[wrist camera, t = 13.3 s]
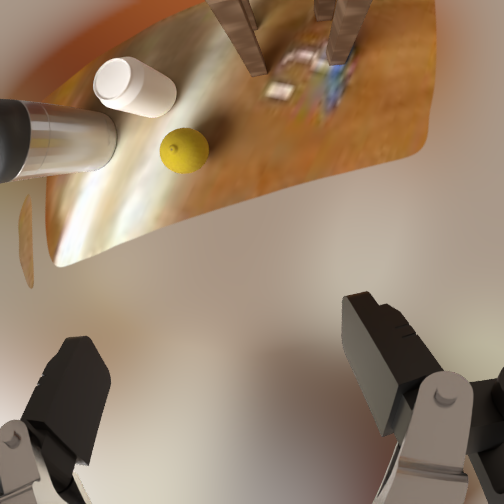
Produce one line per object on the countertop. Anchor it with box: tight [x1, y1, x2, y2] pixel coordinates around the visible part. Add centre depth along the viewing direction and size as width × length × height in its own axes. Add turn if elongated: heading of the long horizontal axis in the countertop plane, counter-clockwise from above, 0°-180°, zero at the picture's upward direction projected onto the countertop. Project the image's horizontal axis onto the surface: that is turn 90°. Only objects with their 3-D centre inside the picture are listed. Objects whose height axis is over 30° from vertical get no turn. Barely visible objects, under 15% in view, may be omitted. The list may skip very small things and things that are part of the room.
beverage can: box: [93, 57, 177, 118], centre depth 31 cm, size 6×6×12 cm
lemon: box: [160, 128, 209, 174], centre depth 35 cm, size 6×6×8 cm
